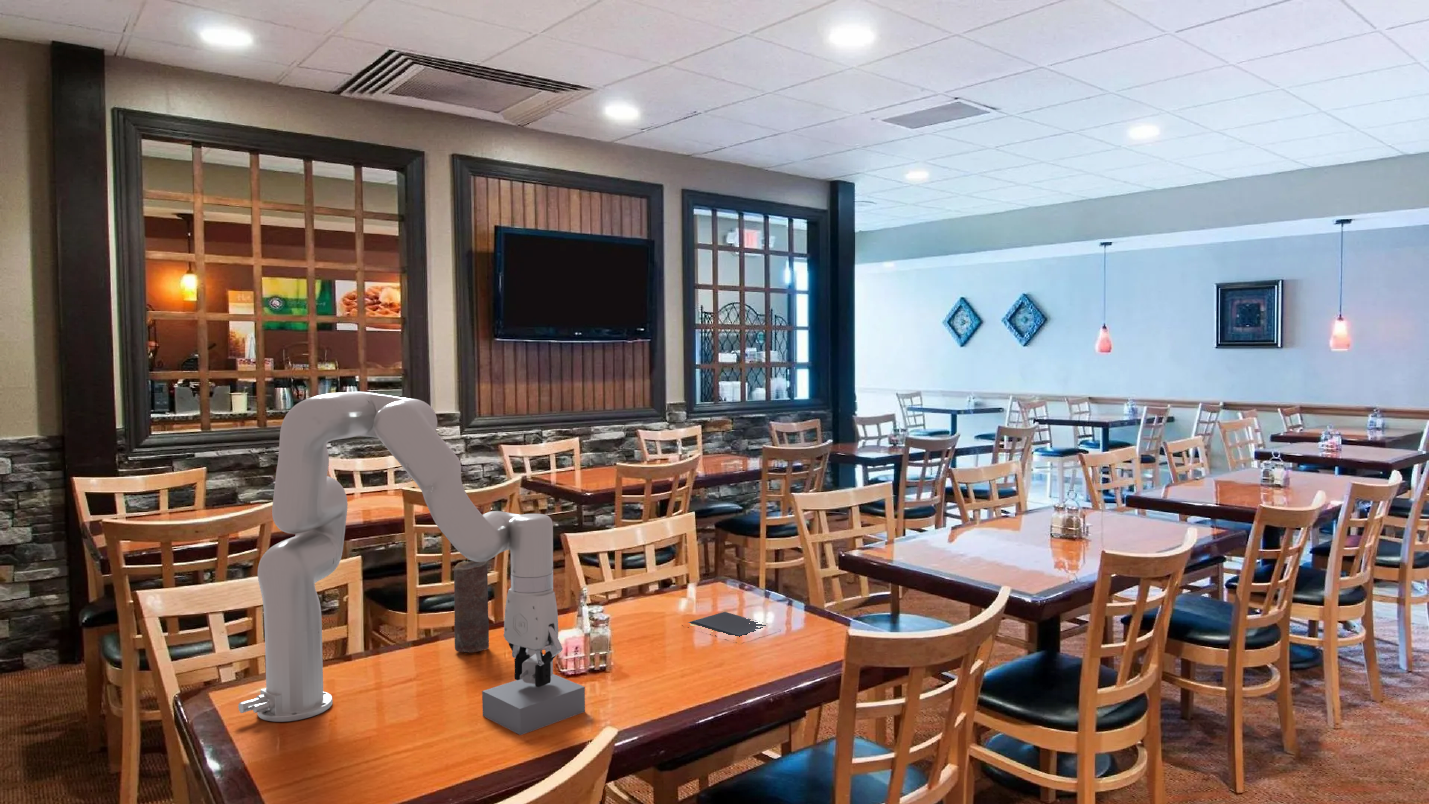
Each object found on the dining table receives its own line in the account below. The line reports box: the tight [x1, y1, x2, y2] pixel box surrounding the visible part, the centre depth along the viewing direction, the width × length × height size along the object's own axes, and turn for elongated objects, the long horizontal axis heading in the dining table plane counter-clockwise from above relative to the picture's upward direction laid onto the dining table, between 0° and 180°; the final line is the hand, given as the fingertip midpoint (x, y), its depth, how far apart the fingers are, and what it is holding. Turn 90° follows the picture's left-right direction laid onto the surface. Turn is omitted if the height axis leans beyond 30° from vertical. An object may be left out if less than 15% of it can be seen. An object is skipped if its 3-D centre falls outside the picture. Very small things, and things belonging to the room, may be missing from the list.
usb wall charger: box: [520, 653, 554, 684], centre depth 162 cm, size 4×7×4 cm, turn 164°
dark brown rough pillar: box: [453, 560, 490, 654], centre depth 196 cm, size 8×7×20 cm
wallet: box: [688, 611, 766, 637], centre depth 214 cm, size 20×2×15 cm
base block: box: [481, 673, 586, 736], centre depth 163 cm, size 14×12×5 cm
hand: (532, 680), depth 162 cm, fingers closed on usb wall charger, 4 cm apart
